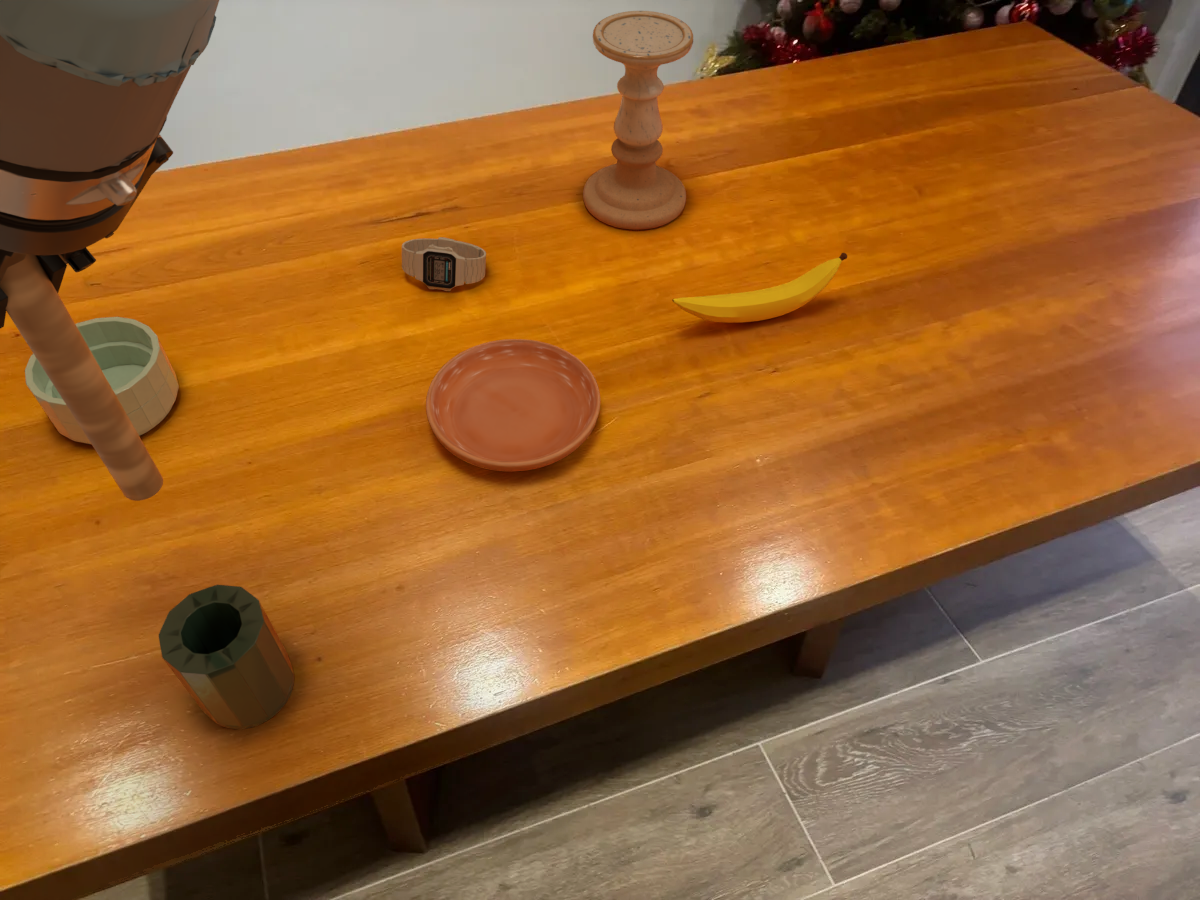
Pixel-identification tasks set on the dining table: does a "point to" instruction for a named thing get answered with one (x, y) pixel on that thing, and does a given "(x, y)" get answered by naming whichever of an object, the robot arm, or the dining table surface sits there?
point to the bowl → (115, 375)
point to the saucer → (513, 404)
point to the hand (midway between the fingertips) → (7, 295)
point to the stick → (78, 377)
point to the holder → (227, 656)
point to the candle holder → (638, 122)
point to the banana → (763, 298)
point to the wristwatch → (443, 262)
